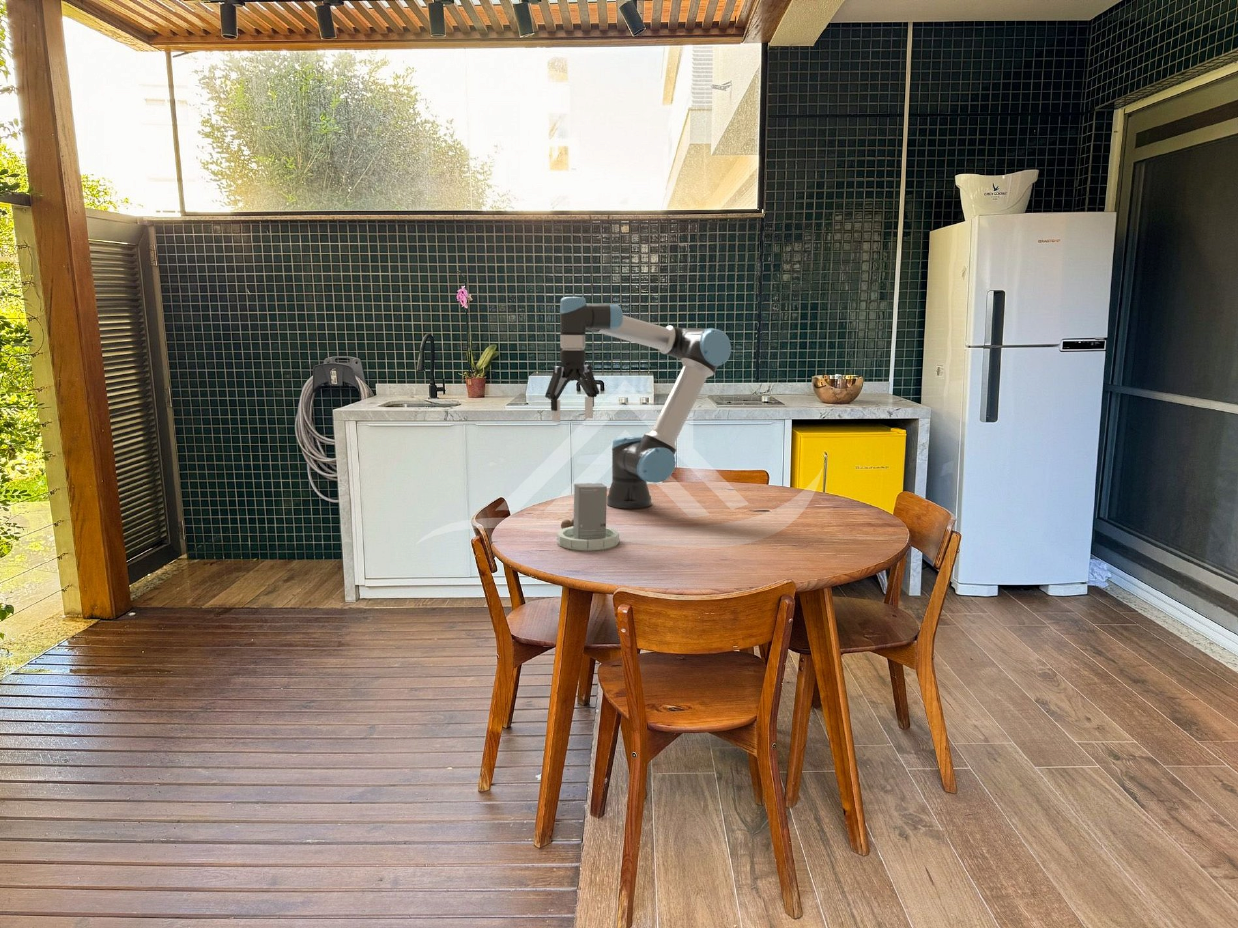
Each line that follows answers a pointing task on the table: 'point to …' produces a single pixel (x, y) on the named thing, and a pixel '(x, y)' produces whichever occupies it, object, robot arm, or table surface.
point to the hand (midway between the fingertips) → (572, 419)
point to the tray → (570, 542)
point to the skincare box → (590, 511)
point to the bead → (566, 524)
